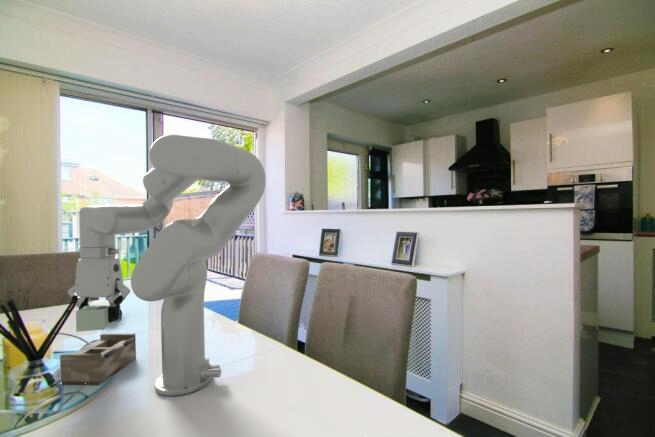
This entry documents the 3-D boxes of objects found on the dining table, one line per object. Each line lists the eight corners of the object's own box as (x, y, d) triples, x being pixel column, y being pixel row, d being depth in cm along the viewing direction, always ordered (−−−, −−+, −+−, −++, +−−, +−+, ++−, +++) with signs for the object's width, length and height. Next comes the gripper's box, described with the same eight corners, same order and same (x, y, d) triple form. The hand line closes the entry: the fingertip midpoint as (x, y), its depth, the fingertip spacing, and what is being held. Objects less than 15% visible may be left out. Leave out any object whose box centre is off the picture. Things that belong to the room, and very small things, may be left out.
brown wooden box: (103, 358, 92) (102, 333, 92) (139, 358, 91) (139, 333, 91) (60, 384, 78) (60, 355, 78) (103, 384, 77) (102, 355, 77)
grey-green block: (104, 329, 80) (103, 308, 80) (76, 331, 79) (75, 310, 79) (120, 316, 90) (119, 298, 90) (95, 318, 88) (95, 299, 88)
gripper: (139, 251, 87) (140, 316, 88) (77, 251, 88) (79, 315, 88) (120, 255, 80) (122, 325, 80) (53, 255, 81) (54, 325, 81)
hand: (99, 320), depth 84 cm, fingers closed on grey-green block, 7 cm apart
